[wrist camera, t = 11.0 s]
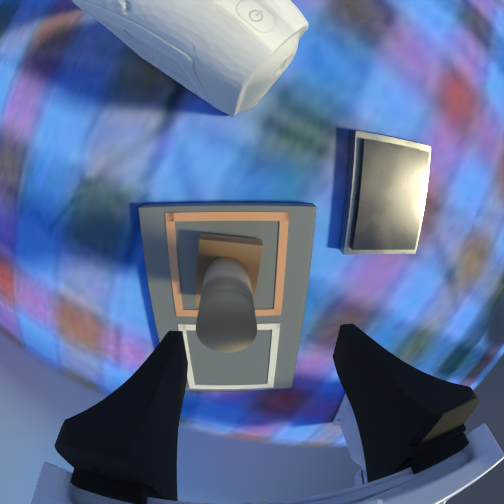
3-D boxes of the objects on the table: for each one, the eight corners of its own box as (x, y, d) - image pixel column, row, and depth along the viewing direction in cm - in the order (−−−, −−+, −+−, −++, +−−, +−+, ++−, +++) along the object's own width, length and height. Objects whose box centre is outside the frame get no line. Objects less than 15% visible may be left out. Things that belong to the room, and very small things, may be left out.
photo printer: (279, 83, 16) (355, 1, 4) (237, 128, 17) (248, 98, 5) (167, 9, 13) (109, -94, 1) (126, 51, 14) (23, -19, 2)
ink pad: (409, 249, 21) (417, 255, 20) (338, 249, 21) (345, 256, 19) (423, 145, 18) (434, 147, 16) (349, 130, 17) (358, 130, 16)
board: (289, 380, 26) (291, 388, 25) (172, 382, 25) (171, 389, 24) (312, 203, 19) (316, 207, 18) (143, 204, 18) (138, 208, 17)
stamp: (250, 300, 21) (259, 367, 14) (197, 295, 20) (185, 361, 14) (260, 237, 19) (276, 290, 12) (201, 231, 18) (186, 281, 12)
